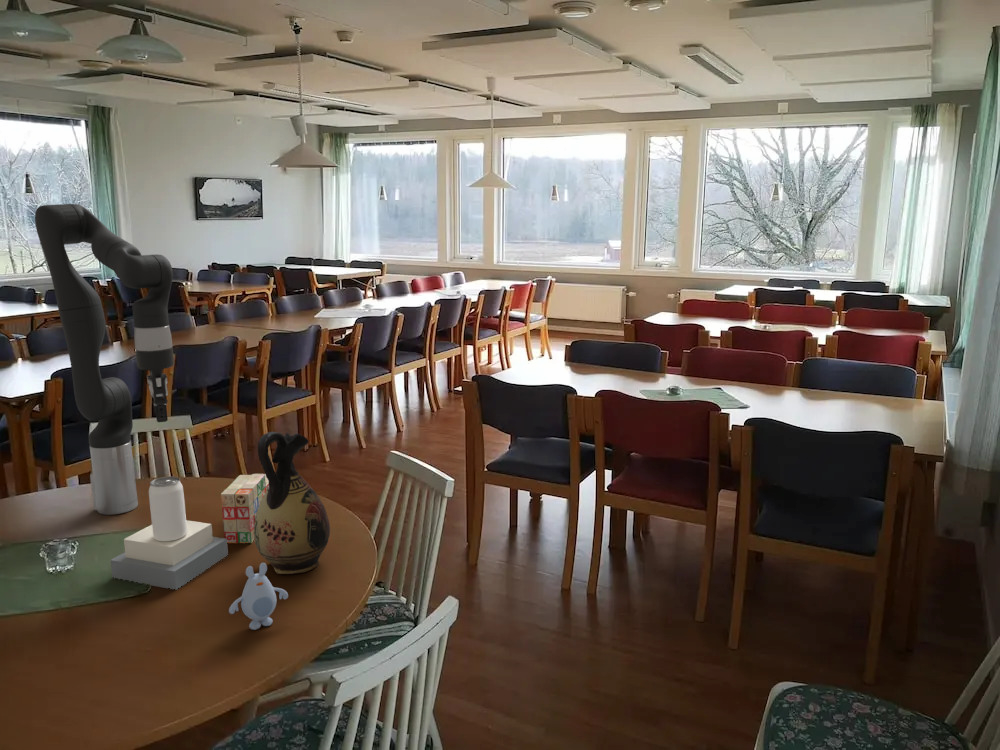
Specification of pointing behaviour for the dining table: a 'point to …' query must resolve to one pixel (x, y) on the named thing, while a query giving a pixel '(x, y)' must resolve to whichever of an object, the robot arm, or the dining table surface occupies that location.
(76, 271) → the robot arm
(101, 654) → the dining table surface
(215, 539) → the tower base
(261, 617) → the toy figure
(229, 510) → the stack of blocks
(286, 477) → the ceramic jug
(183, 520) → the can
